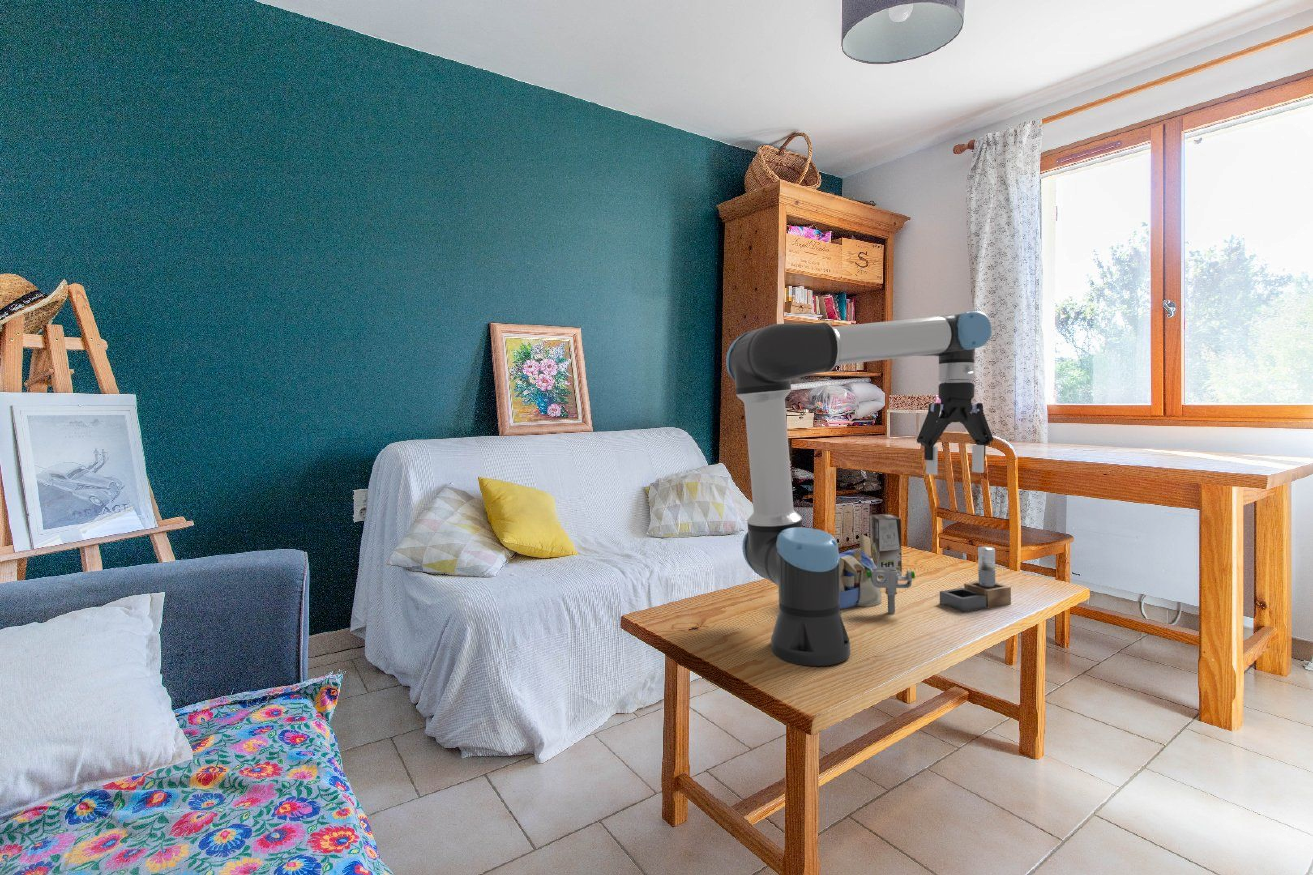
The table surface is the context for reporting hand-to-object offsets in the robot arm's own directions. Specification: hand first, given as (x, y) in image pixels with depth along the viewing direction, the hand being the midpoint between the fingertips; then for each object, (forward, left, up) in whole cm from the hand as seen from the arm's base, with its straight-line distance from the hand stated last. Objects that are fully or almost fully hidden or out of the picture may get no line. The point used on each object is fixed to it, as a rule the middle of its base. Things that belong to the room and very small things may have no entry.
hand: (955, 473), depth 147 cm
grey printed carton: (+6, +32, -32) cm, 45 cm away
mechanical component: (-16, +3, -32) cm, 36 cm away
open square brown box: (+9, 0, -32) cm, 33 cm away
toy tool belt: (-24, +13, -32) cm, 42 cm away
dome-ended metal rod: (+9, 0, -32) cm, 33 cm away
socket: (+2, 0, -32) cm, 32 cm away
